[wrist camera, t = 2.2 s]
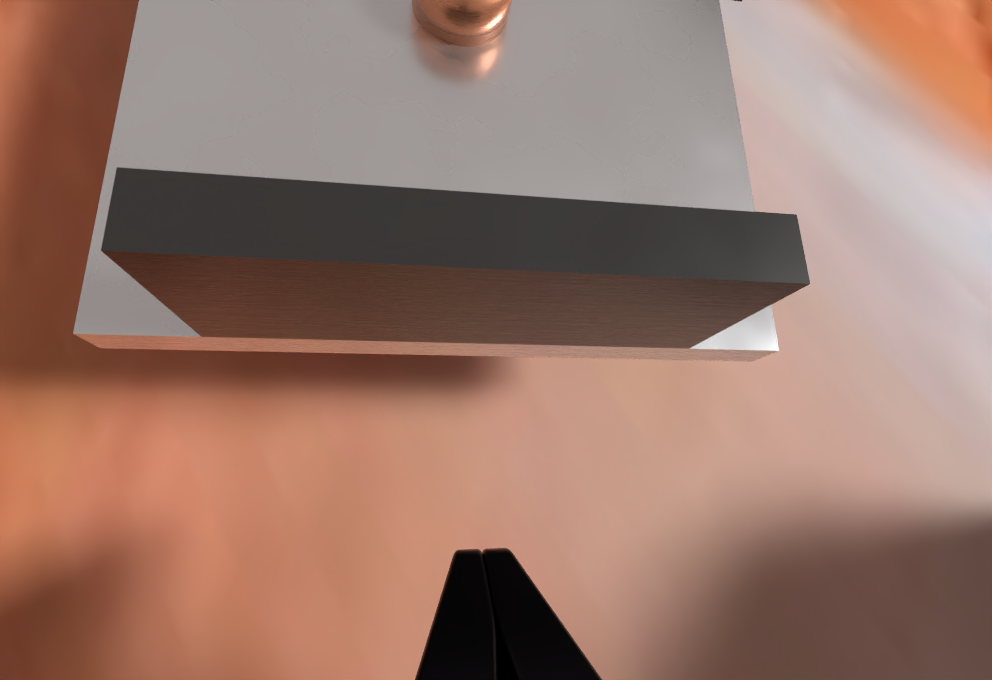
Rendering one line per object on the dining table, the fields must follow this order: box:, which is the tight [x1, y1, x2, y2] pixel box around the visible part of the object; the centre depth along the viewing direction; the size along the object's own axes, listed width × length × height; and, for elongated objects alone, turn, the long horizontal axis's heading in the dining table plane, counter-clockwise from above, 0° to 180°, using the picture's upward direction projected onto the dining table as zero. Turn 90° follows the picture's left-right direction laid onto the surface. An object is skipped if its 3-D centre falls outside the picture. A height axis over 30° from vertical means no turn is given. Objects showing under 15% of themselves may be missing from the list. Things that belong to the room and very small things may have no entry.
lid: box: [73, 0, 810, 361], centre depth 12 cm, size 14×14×5 cm
